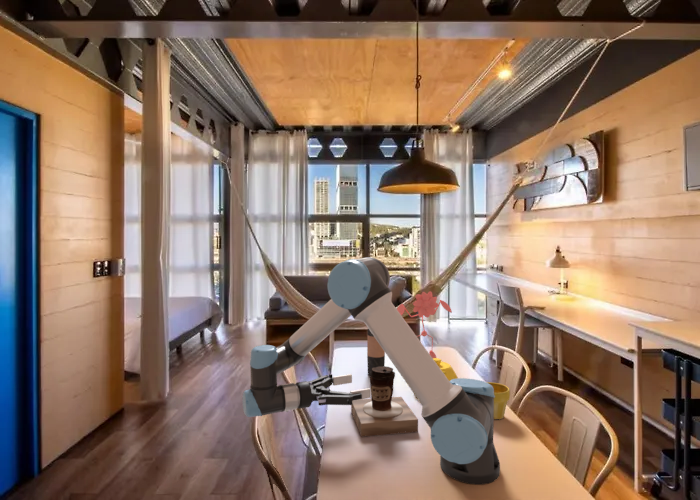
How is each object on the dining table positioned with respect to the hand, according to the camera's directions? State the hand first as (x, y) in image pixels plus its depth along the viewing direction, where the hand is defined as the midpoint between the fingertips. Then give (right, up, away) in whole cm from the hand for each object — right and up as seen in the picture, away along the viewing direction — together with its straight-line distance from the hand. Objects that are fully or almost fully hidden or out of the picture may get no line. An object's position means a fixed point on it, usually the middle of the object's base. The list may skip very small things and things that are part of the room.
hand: (360, 385), depth 132 cm
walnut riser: (+7, -13, +4) cm, 15 cm away
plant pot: (+45, -13, +8) cm, 48 cm away
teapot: (+30, -12, +26) cm, 41 cm away
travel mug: (+8, -11, +48) cm, 50 cm away
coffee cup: (+7, -9, +4) cm, 12 cm away
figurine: (+31, -11, +59) cm, 68 cm away
